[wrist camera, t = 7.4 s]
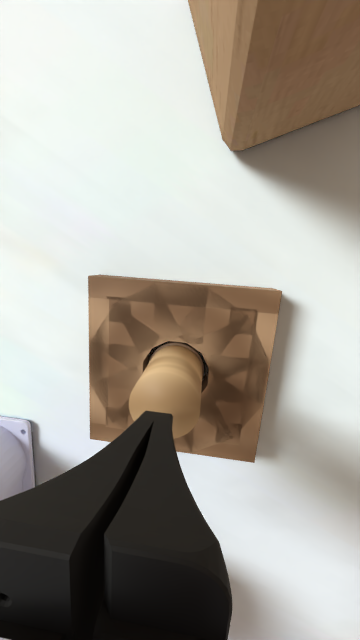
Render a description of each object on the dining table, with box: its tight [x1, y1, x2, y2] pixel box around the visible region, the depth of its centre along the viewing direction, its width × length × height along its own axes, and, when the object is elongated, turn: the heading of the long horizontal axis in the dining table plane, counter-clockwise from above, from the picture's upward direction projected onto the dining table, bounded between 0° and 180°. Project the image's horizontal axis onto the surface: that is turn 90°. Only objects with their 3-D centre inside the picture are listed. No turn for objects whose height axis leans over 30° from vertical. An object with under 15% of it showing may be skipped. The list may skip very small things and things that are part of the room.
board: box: [88, 275, 282, 463], centre depth 19 cm, size 13×13×2 cm
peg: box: [129, 341, 204, 439], centre depth 16 cm, size 4×4×7 cm
